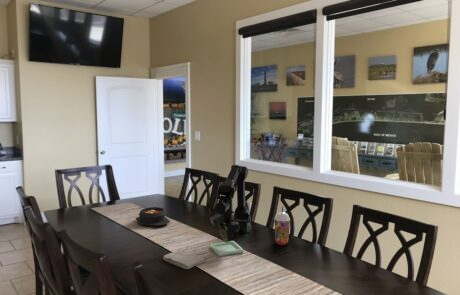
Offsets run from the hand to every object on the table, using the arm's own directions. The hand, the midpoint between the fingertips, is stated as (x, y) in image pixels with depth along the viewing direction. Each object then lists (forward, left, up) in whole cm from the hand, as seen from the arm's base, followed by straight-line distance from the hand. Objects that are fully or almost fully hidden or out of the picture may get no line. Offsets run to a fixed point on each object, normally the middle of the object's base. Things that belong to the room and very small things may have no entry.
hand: (226, 238), depth 187 cm
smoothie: (+2, +31, -6) cm, 32 cm away
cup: (0, 0, -2) cm, 2 cm away
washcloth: (+5, -24, -7) cm, 25 cm away
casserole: (-59, -27, -6) cm, 65 cm away
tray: (0, 0, -6) cm, 6 cm away
